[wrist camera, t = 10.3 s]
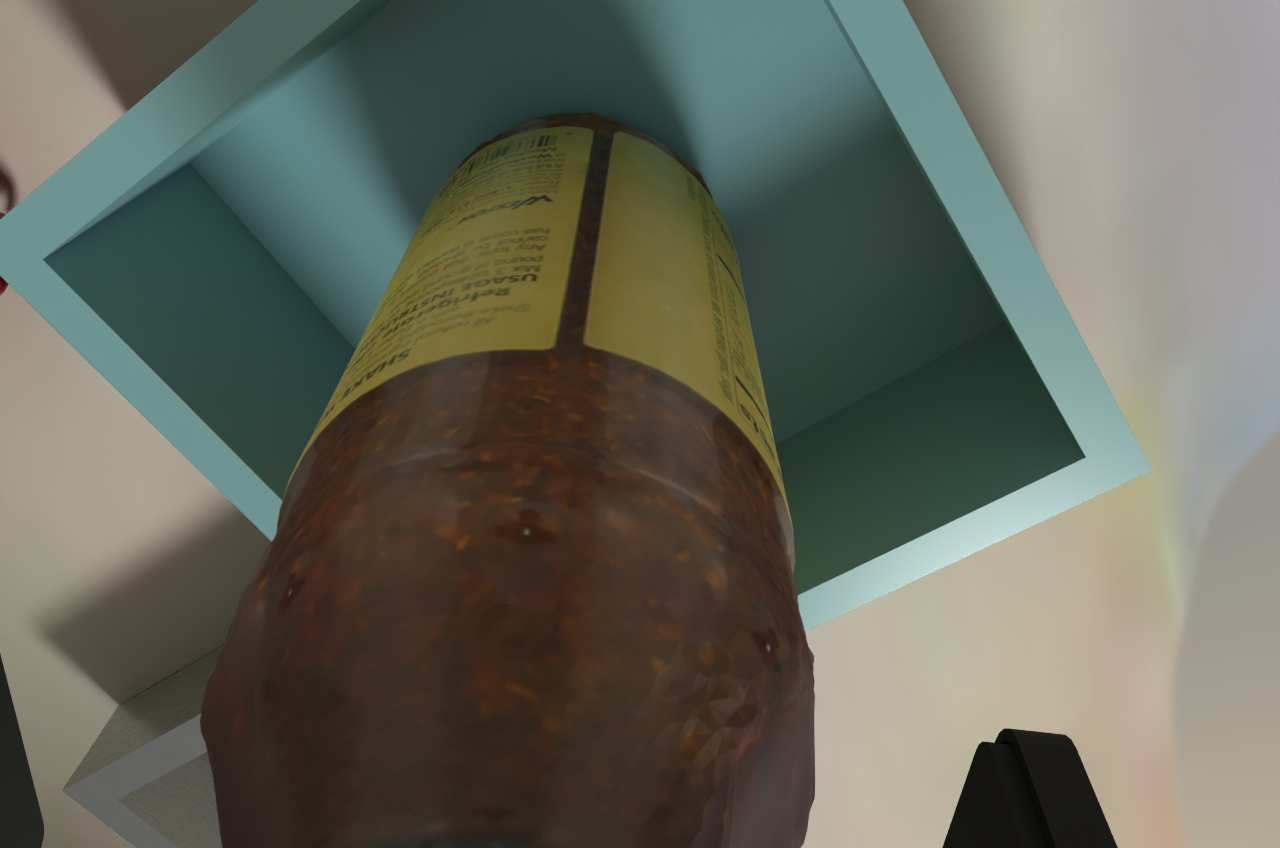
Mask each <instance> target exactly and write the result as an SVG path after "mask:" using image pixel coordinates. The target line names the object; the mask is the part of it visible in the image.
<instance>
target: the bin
mask: <svg viewBox="0 0 1280 848" xmlns="http://www.w3.org/2000/svg"><path fill="white" fill-rule="evenodd" d="M573 113H595V114H598V115H600V116H603V117H607V118H610V119H614V120H616V121H618V122H620V123H621V124H623V125H627V126H630V127H632V128H635V129H637V130H639V131H641V132H642V133H644V134H646V135H647V136H649V137H652V138H653V139H655V140H657V141H659V142H660V143H662V144H664V145H667V146H668V147H669V148H670V149H671V150H672V151H674V152H675V153H676V154H677V155H678V156H679V157H680V158H681V159H682V160H683V161H685V162H686V163H687V164H688V165H690V166H691V167H693V168H695V169H696V170H697V171H699V173H700V174H701V175H702V177H703V179H704V181H705V183H706V185H707V187H708V189H709V191H710V193H711V195H712V198H713V200H714V202H715V204H716V206H717V207H718V209H719V211H720V212H721V214H722V216H723V218H724V220H725V222H726V224H727V226H728V229H729V231H730V234H731V237H732V240H733V243H734V246H735V250H736V253H737V256H738V260H739V265H740V273H741V279H742V284H743V289H744V294H745V299H746V304H747V309H748V314H749V319H750V324H751V329H752V334H753V339H754V344H755V349H756V353H757V358H758V363H759V368H760V373H761V378H762V383H763V388H764V393H765V398H766V403H767V408H768V413H769V418H770V423H771V428H772V433H773V438H774V443H775V447H776V452H777V457H778V460H779V464H780V467H781V475H782V480H783V485H784V489H785V494H786V499H787V503H788V508H789V512H790V517H791V521H792V526H793V538H794V553H795V567H794V582H795V589H796V591H797V593H798V605H799V612H800V615H801V618H802V622H803V626H804V630H805V631H807V630H809V629H812V628H814V627H816V626H818V625H820V624H822V623H824V622H827V621H829V620H831V619H833V618H835V617H837V616H839V615H842V614H844V613H846V612H848V611H850V610H852V609H855V608H857V607H859V606H861V605H863V604H865V603H867V602H870V601H872V600H874V599H876V598H878V597H880V596H883V595H885V594H887V593H889V592H891V591H893V590H895V589H898V588H900V587H902V586H904V585H906V584H908V583H910V582H913V581H915V580H917V579H919V578H921V577H923V576H926V575H928V574H930V573H932V572H934V571H936V570H938V569H941V568H943V567H945V566H947V565H949V564H951V563H953V562H956V561H958V560H960V559H962V558H964V557H966V556H969V555H971V554H973V553H975V552H977V551H979V550H981V549H984V548H986V547H988V546H990V545H992V544H994V543H997V542H999V541H1001V540H1003V539H1005V538H1007V537H1009V536H1012V535H1014V534H1016V533H1018V532H1020V531H1022V530H1024V529H1027V528H1029V527H1031V526H1033V525H1035V524H1037V523H1040V522H1042V521H1044V520H1046V519H1048V518H1050V517H1052V516H1055V515H1057V514H1059V513H1061V512H1063V511H1065V510H1067V509H1070V508H1072V507H1074V506H1076V505H1078V504H1080V503H1083V502H1085V501H1087V500H1089V499H1091V498H1093V497H1095V496H1098V495H1100V494H1102V493H1104V492H1106V491H1108V490H1111V489H1113V488H1115V487H1117V486H1119V485H1121V484H1123V483H1126V482H1128V481H1130V480H1132V479H1134V478H1136V477H1138V476H1141V475H1143V474H1145V473H1147V472H1149V471H1151V470H1152V468H1151V466H1150V464H1149V462H1148V461H1147V459H1146V457H1145V455H1144V453H1143V451H1142V449H1141V447H1140V445H1139V444H1138V442H1137V440H1136V438H1135V436H1134V434H1133V432H1132V430H1131V429H1130V427H1129V425H1128V423H1127V421H1126V419H1125V417H1124V415H1123V413H1122V412H1121V410H1120V408H1119V406H1118V404H1117V402H1116V400H1115V398H1114V397H1113V395H1112V393H1111V391H1110V389H1109V387H1108V385H1107V383H1106V382H1105V380H1104V378H1103V376H1102V374H1101V372H1100V370H1099V368H1098V366H1097V365H1096V363H1095V361H1094V359H1093V357H1092V355H1091V353H1090V351H1089V350H1088V348H1087V346H1086V344H1085V342H1084V340H1083V338H1082V336H1081V334H1080V333H1079V331H1078V329H1077V327H1076V325H1075V323H1074V321H1073V319H1072V318H1071V316H1070V314H1069V312H1068V310H1067V308H1066V306H1065V304H1064V303H1063V301H1062V299H1061V297H1060V295H1059V293H1058V291H1057V289H1056V287H1055V286H1054V284H1053V282H1052V280H1051V278H1050V276H1049V274H1048V272H1047V271H1046V269H1045V267H1044V265H1043V263H1042V261H1041V259H1040V257H1039V255H1038V254H1037V252H1036V250H1035V248H1034V246H1033V244H1032V242H1031V240H1030V239H1029V237H1028V235H1027V233H1026V231H1025V229H1024V227H1023V225H1022V224H1021V222H1020V220H1019V218H1018V216H1017V214H1016V212H1015V210H1014V208H1013V207H1012V205H1011V203H1010V201H1009V199H1008V197H1007V195H1006V193H1005V192H1004V190H1003V188H1002V186H1001V184H1000V182H999V180H998V178H997V177H996V175H995V173H994V171H993V169H992V167H991V165H990V163H989V161H988V160H987V158H986V156H985V154H984V152H983V150H982V148H981V146H980V145H979V143H978V141H977V139H976V137H975V135H974V133H973V131H972V129H971V128H970V126H969V124H968V122H967V120H966V118H965V116H964V114H963V113H962V111H961V109H960V107H959V105H958V103H957V101H956V99H955V98H954V96H953V94H952V92H951V90H950V88H949V86H948V84H947V82H946V81H945V79H944V77H943V75H942V73H941V71H940V69H939V67H938V66H937V64H936V62H935V60H934V58H933V56H932V54H931V52H930V50H929V49H928V47H927V45H926V43H925V41H924V39H923V37H922V35H921V34H920V32H919V30H918V28H917V26H916V24H915V22H914V20H913V19H912V17H911V15H910V13H909V11H908V9H907V7H906V5H905V3H904V2H903V0H258V1H257V2H256V3H254V4H253V5H252V6H251V7H250V8H248V9H247V10H246V11H245V12H244V13H243V14H241V15H240V16H239V17H238V18H237V19H236V20H234V21H233V22H232V23H231V24H230V25H228V26H227V27H226V28H225V29H224V30H223V31H221V32H220V33H219V34H218V35H217V36H216V37H214V38H213V39H212V40H211V41H210V42H208V43H207V44H206V45H205V46H204V47H203V48H201V49H200V50H199V51H198V52H197V53H196V54H194V55H193V56H192V57H191V58H190V59H188V60H187V61H186V62H185V63H184V64H183V65H181V66H180V67H179V68H178V69H177V70H176V71H174V72H173V73H172V74H171V75H170V76H168V77H167V78H166V79H165V80H164V81H163V82H161V83H160V84H159V85H158V86H157V87H156V88H154V89H153V90H152V91H151V92H150V93H148V94H147V95H146V96H145V97H144V98H143V99H141V100H140V101H139V102H138V103H137V104H136V105H134V106H133V107H132V108H131V109H130V110H128V111H127V112H126V113H125V114H124V115H123V116H121V117H120V118H119V119H118V120H117V121H116V122H114V123H113V124H112V125H111V126H110V127H108V128H107V129H106V130H105V131H104V132H103V133H101V134H100V135H99V136H98V137H97V138H96V139H94V140H93V141H92V142H91V143H90V144H88V145H87V146H86V147H85V148H84V149H83V150H81V151H80V152H79V153H78V154H77V155H76V156H74V157H73V158H72V159H71V160H70V161H68V162H67V163H66V164H65V165H64V166H63V167H61V168H60V169H59V170H58V171H57V172H56V173H54V174H53V175H52V176H51V177H50V178H49V179H47V180H46V181H45V182H44V183H43V184H41V185H40V186H39V187H38V188H37V189H36V190H34V191H33V192H32V193H31V194H30V195H29V196H27V197H26V198H25V199H24V200H23V201H21V202H20V203H19V204H18V205H17V206H16V207H14V208H13V209H12V210H11V211H10V212H9V213H7V214H6V215H5V216H4V217H3V218H1V219H0V276H1V277H2V278H3V279H4V280H5V281H6V282H7V283H8V284H9V285H10V286H11V287H12V288H13V289H14V290H15V291H16V292H17V293H18V294H19V295H20V296H21V297H22V298H24V299H25V300H26V301H27V302H28V303H29V304H30V305H31V306H32V307H33V308H34V309H35V310H36V311H37V312H38V313H39V314H40V315H41V316H42V317H43V318H44V319H45V320H46V321H47V322H48V323H49V324H50V325H51V326H52V327H53V328H54V329H55V330H56V331H57V332H58V333H59V334H60V335H61V336H62V337H63V338H64V339H65V340H66V341H67V342H68V343H69V344H70V345H71V346H72V347H74V348H75V349H76V350H77V351H78V352H79V353H80V354H81V355H82V356H83V357H84V358H85V359H86V360H87V361H88V362H89V363H90V364H91V365H92V366H93V367H94V368H95V369H96V370H97V371H98V372H99V373H100V374H101V375H102V376H103V377H104V378H105V379H106V380H107V381H108V382H109V383H110V384H111V385H112V386H113V387H114V388H115V389H116V390H117V391H118V392H119V393H120V394H121V395H122V396H124V397H125V398H126V399H127V400H128V401H129V402H130V403H131V404H132V405H133V406H134V407H135V408H136V409H137V410H138V411H139V412H140V413H141V414H142V415H143V416H144V417H145V418H146V419H147V420H148V421H149V422H150V423H151V424H152V425H153V426H154V427H155V428H156V429H157V430H158V431H159V432H160V433H161V434H162V435H163V436H164V437H165V438H166V439H167V440H168V441H169V442H170V443H171V444H172V445H174V446H175V447H176V448H177V449H178V450H179V451H180V452H181V453H182V454H183V455H184V456H185V457H186V458H187V459H188V460H189V461H190V462H191V463H192V464H193V465H194V466H195V467H196V468H197V469H198V470H199V471H200V472H201V473H202V474H203V475H204V476H205V477H206V478H207V479H208V480H209V481H210V482H211V483H212V484H213V485H214V486H215V487H216V488H217V489H218V490H219V491H220V492H221V493H222V494H224V495H225V496H226V497H227V498H228V499H229V500H230V501H231V502H232V503H233V504H234V505H235V506H236V507H237V508H238V509H239V510H240V511H241V512H242V513H243V514H244V515H245V516H246V517H247V518H248V519H249V520H250V521H251V522H252V523H253V524H254V525H255V526H256V527H257V528H258V529H259V530H260V531H261V532H262V533H263V534H264V535H265V536H266V537H267V538H268V539H269V540H270V541H271V542H272V541H273V539H274V537H275V535H276V533H277V521H278V515H279V510H280V507H281V504H282V500H283V497H284V494H285V491H286V488H287V485H288V482H289V479H290V477H291V475H292V473H293V471H294V469H295V467H296V465H297V463H298V461H299V459H300V457H301V455H302V453H303V451H304V449H305V448H306V446H307V444H308V442H309V440H310V438H311V436H312V434H313V432H314V430H315V428H316V427H317V425H318V423H319V421H320V419H321V417H322V415H323V413H324V411H325V409H326V407H327V405H328V403H329V401H330V399H331V397H332V395H333V394H334V392H335V390H336V388H337V386H338V384H339V382H340V380H341V378H342V376H343V374H344V372H345V370H346V368H347V366H348V364H349V362H350V360H351V358H352V356H353V354H354V352H355V350H356V348H357V346H358V344H359V342H360V341H361V339H362V337H363V335H364V333H365V331H366V329H367V327H368V325H369V323H370V321H371V319H372V317H373V315H374V313H375V311H376V309H377V307H378V305H379V303H380V301H381V299H382V297H383V295H384V293H385V291H386V289H387V287H388V285H389V283H390V281H391V279H392V277H393V275H394V273H395V271H396V269H397V267H398V265H399V263H400V261H401V259H402V257H403V255H404V253H405V251H406V249H407V247H408V245H409V243H410V241H411V239H412V237H413V236H414V234H415V232H416V230H417V228H418V226H419V224H420V222H421V220H422V218H423V216H424V214H425V212H426V210H427V208H428V206H429V205H430V203H431V201H432V199H433V198H434V196H435V195H436V194H437V192H438V191H439V189H440V188H441V187H442V186H443V185H444V183H445V182H446V181H447V180H448V179H449V178H450V176H451V175H452V174H453V173H454V172H456V171H457V169H458V166H459V165H460V164H461V163H462V162H463V160H464V159H465V158H466V157H467V156H468V155H470V154H471V153H472V152H473V151H474V150H475V149H476V147H478V146H479V145H480V144H482V143H484V142H487V141H489V140H492V139H493V138H495V137H496V136H497V135H499V134H502V133H506V132H507V131H509V130H511V129H514V128H516V127H519V126H521V125H523V124H525V123H527V122H529V121H530V120H532V119H534V118H543V117H547V116H550V115H554V114H573Z"/></svg>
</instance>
